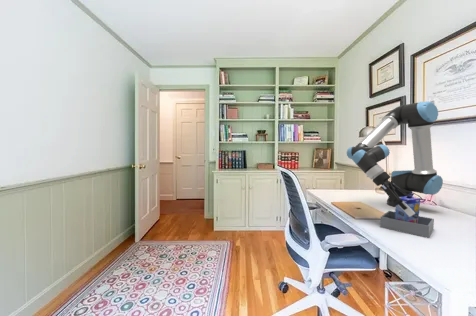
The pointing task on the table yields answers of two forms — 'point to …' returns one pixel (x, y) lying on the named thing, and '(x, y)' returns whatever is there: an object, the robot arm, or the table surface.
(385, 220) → the box
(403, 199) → the ink cartridge box
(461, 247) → the table surface
